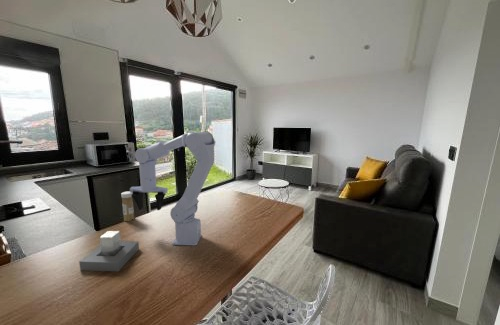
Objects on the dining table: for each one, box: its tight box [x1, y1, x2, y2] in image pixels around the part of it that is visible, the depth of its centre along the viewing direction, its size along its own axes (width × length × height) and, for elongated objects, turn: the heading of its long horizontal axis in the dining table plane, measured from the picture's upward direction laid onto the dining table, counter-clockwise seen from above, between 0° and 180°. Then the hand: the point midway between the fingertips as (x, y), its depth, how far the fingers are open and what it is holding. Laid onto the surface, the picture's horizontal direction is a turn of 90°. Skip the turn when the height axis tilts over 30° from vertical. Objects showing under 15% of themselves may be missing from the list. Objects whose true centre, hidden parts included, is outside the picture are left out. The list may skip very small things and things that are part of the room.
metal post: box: [99, 230, 122, 256], centre depth 71 cm, size 4×4×9 cm
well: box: [78, 240, 140, 272], centre depth 72 cm, size 12×12×3 cm
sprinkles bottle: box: [120, 190, 135, 222], centre depth 99 cm, size 5×5×14 cm
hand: (150, 209), depth 88 cm, fingers open, 7 cm apart
